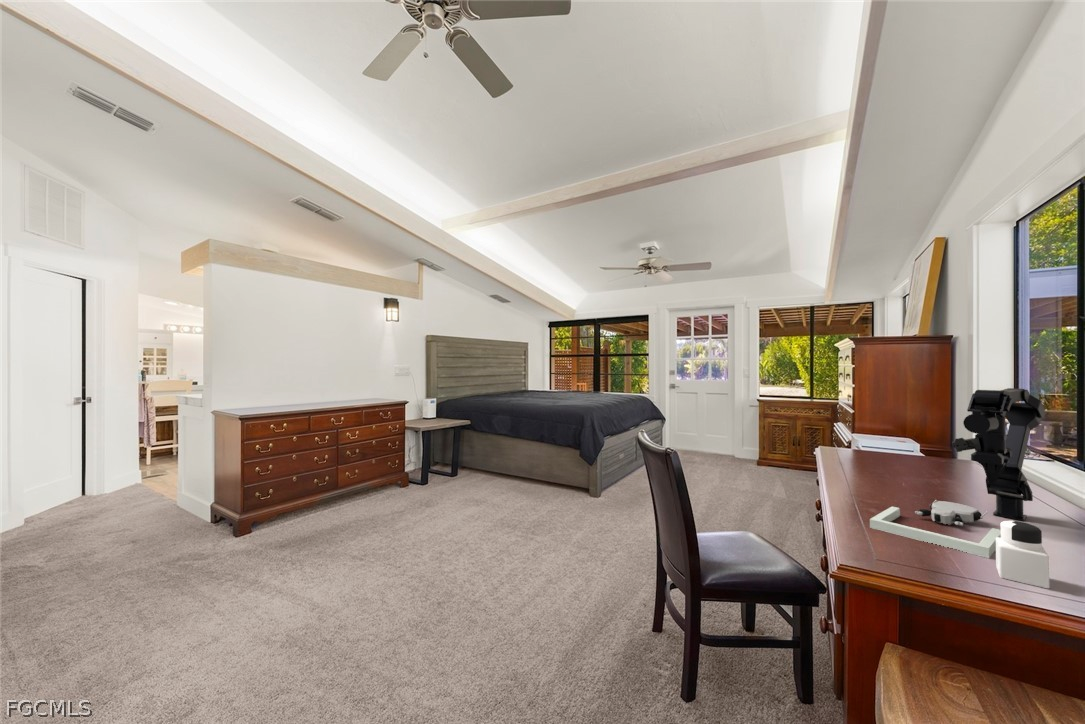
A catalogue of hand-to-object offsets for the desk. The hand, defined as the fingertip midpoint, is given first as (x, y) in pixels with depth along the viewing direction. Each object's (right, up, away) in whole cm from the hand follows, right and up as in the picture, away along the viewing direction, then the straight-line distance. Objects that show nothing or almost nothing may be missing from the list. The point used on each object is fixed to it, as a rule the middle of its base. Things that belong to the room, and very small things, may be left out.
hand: (992, 482), depth 126 cm
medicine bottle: (-29, -12, -33) cm, 46 cm away
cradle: (-26, -12, -8) cm, 29 cm away
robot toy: (-12, -13, +1) cm, 17 cm away
